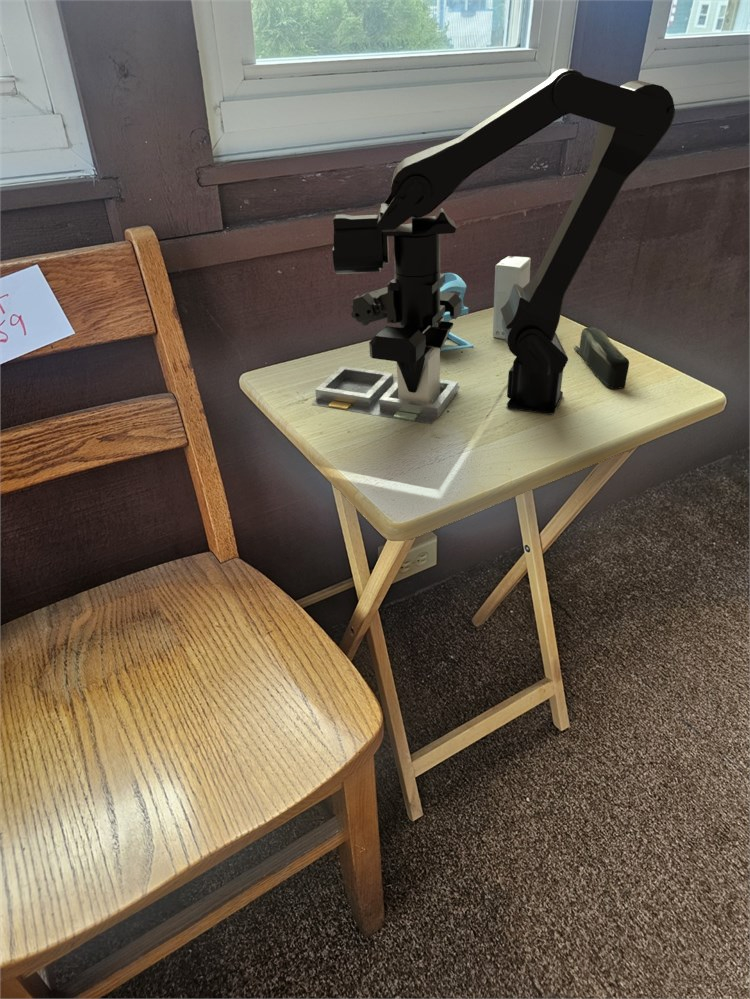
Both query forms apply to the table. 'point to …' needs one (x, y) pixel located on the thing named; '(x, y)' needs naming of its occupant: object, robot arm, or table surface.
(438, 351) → the plug
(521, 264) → the skincare box
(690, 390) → the table surface
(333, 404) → the grey double tray
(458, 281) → the chair
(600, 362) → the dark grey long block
